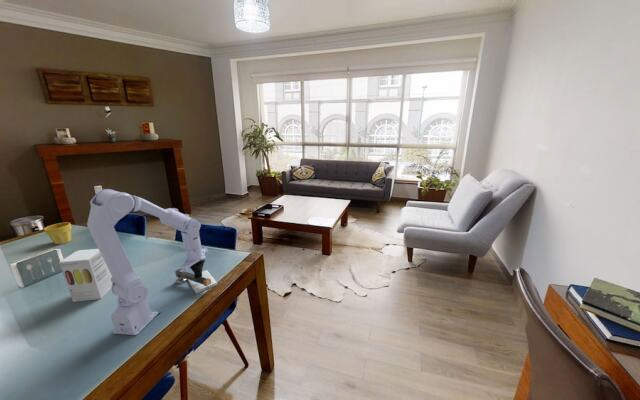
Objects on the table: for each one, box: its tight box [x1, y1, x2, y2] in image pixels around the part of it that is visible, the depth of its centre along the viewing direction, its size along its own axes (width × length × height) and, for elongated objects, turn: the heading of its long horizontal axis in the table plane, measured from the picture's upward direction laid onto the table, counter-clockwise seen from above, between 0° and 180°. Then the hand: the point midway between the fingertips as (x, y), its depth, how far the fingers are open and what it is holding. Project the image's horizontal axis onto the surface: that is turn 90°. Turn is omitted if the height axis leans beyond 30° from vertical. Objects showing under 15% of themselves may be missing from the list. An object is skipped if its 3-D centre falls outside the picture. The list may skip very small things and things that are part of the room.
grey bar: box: [174, 268, 211, 286], centre depth 99 cm, size 3×18×2 cm, turn 65°
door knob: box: [175, 277, 188, 285], centre depth 102 cm, size 4×4×3 cm
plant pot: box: [43, 221, 73, 245], centre depth 138 cm, size 10×10×10 cm
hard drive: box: [187, 269, 218, 295], centre depth 102 cm, size 2×8×12 cm
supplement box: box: [59, 248, 112, 303], centre depth 94 cm, size 10×9×17 cm
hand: (198, 277), depth 100 cm, fingers closed, pressing on grey bar
